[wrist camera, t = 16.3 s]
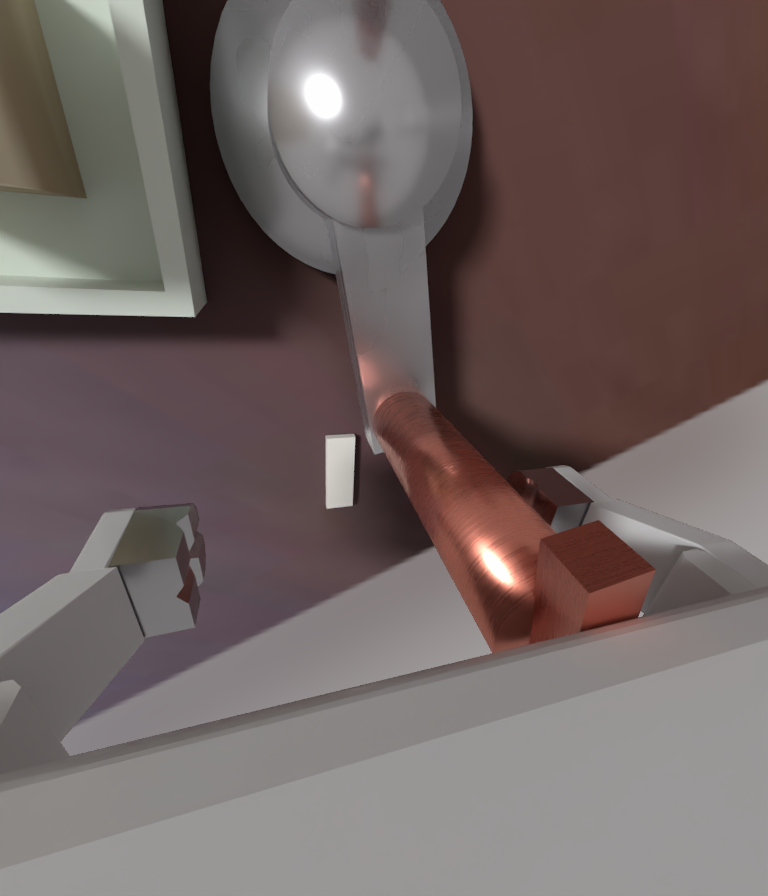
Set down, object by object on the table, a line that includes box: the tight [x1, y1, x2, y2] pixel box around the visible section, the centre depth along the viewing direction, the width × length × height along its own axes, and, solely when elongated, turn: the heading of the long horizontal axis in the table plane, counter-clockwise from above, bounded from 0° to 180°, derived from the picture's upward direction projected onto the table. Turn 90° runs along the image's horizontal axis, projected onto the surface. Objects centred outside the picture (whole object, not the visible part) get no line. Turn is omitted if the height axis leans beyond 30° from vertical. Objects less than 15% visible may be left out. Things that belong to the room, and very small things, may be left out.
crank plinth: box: [210, 0, 473, 274], centre depth 11 cm, size 7×7×1 cm
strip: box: [326, 434, 355, 509], centre depth 16 cm, size 1×4×1 cm, turn 176°
